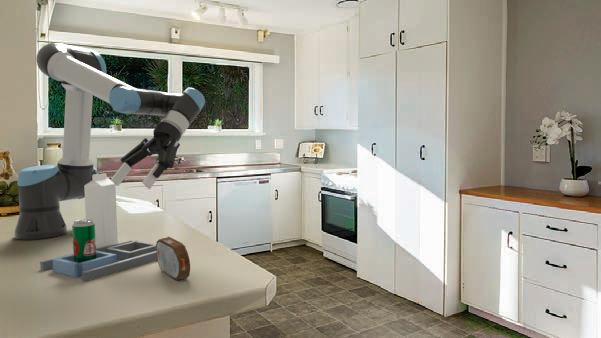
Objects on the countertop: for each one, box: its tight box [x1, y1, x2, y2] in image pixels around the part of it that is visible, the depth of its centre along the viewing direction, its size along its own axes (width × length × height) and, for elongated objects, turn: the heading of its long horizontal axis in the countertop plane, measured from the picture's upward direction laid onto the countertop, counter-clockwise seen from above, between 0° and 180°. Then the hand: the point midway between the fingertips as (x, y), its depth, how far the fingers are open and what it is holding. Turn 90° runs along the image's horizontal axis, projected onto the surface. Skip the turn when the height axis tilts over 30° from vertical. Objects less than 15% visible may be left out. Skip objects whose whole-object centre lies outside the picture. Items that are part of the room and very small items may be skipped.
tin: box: [155, 236, 191, 281], centre depth 102 cm, size 15×3×8 cm, turn 38°
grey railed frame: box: [39, 239, 157, 282], centre depth 114 cm, size 18×26×3 cm
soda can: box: [71, 218, 97, 263], centre depth 108 cm, size 5×5×12 cm
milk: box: [84, 173, 119, 248], centre depth 128 cm, size 6×6×22 cm
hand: (129, 184), depth 119 cm, fingers open, 13 cm apart
